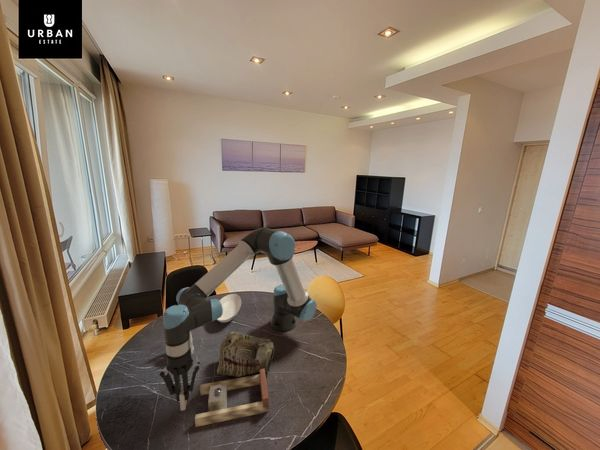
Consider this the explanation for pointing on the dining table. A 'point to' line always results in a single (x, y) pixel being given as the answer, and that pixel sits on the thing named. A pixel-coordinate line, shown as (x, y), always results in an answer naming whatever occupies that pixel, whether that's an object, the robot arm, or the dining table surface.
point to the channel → (238, 410)
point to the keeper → (217, 397)
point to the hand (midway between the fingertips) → (183, 406)
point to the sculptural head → (244, 355)
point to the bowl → (230, 307)
